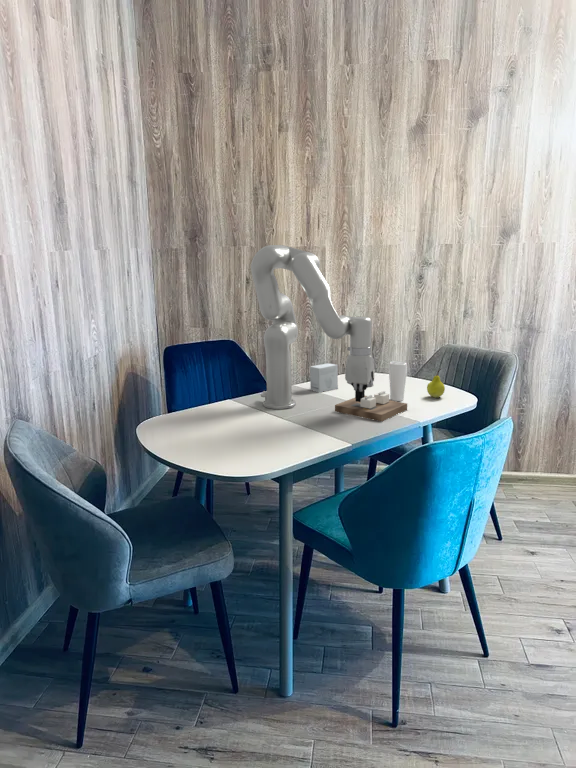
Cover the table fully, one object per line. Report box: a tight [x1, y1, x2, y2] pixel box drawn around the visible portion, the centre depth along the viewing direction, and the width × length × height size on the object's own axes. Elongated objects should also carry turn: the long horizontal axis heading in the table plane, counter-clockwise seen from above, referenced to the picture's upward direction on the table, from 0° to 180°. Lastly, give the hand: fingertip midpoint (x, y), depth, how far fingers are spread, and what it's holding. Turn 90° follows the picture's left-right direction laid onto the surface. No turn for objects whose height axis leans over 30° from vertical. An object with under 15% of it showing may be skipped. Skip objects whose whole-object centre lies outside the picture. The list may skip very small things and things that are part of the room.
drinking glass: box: [388, 360, 408, 402], centre depth 222 cm, size 7×7×15 cm
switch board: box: [334, 395, 408, 422], centre depth 209 cm, size 20×18×2 cm
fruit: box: [426, 368, 446, 399], centre depth 226 cm, size 7×7×12 cm
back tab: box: [373, 390, 390, 404], centre depth 210 cm, size 4×4×4 cm
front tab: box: [361, 394, 376, 409], centre depth 205 cm, size 4×4×4 cm
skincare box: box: [309, 362, 339, 393], centre depth 240 cm, size 10×6×10 cm, turn 126°
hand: (359, 400), depth 207 cm, fingers closed
